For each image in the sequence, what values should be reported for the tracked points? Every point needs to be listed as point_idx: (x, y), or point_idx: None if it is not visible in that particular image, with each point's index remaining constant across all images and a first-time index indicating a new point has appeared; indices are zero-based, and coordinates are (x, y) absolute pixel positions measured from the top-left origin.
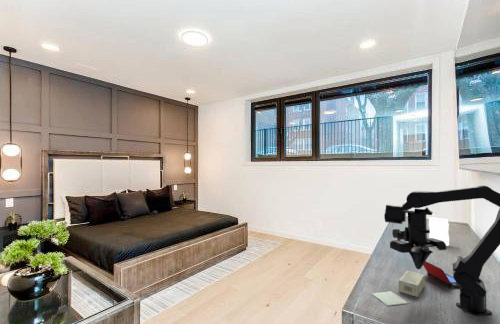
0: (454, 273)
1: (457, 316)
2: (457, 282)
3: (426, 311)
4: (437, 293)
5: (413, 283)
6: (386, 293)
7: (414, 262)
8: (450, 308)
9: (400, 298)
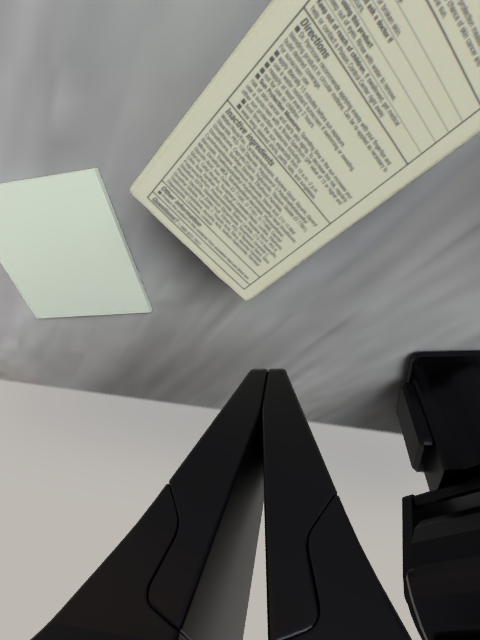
0: (419, 616)
1: (313, 408)
2: (416, 532)
3: (204, 368)
4: (469, 213)
5: (232, 270)
6: (54, 201)
7: (207, 444)
8: (346, 366)
9: (126, 269)
